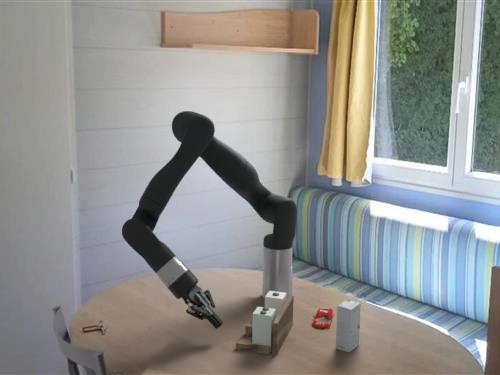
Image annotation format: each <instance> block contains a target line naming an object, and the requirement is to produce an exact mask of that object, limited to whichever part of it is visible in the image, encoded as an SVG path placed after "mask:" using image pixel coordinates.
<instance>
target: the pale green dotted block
mask: <svg viewBox="0 0 500 375" xmlns="http://www.w3.org/2000/svg"><path fill="white" fill-rule="evenodd" d="M275 319H276V309H272V308H268V307H265V306H257V307H256V308H255V310H254V311H253V313H252V324H253V326H252V336H251V337H252V338H251V340H252V341H251V342H252V343H251V344H256V345H262V346H269V347H270V353H271V352H272V344H273V322H274V321H275Z"/></svg>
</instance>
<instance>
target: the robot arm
mask: <svg viewBox="0 0 500 375" xmlns="http://www.w3.org/2000/svg"><path fill="white" fill-rule="evenodd" d="M171 130H172V134H173V136H174V138H175V139H176V140H177V141H178V142H179V143H180V144H179V147H178V149H177V150H176V152H175V154H174V155H173V156H172V157H171V159H170V160H169V161H168V162H167V163H166V164H165V165H164V166H163V167H162V168H160V169H159V171H158V172H156V174H154V175H153V177H152V178H151V179H150V181H149V182H148V184H147V186H146V187H145V190H144V191H143V193H142V195H141V197H140V199H139V201H138V207H137V208H136V210H135V212H134V214H133V215H132V216H131V218H128V219H127V220H126V221H125V222H124V223H123V225H122V228H121V234H122V238H123V240H124V241H125V242H126V243H127V244H128V246H130V247H131V249H133V251H135V253H137V254H138V255H139V256H141V257H142V259H143V260H144V261H145V262H146V263H147V265H148V266H149V267H150V268H151V269H152V270H153V272H154V273H155V274H156V276H157V277H158V279H160V281H161V282H162V284H163V285H164V286H165V287H166V288H167V289H168V290H169V291H170V293H171V294H172V295H173V296H174V297H175V298H176V299H177V300H180V299H182V300H183V301H184V304H185V305H186V306H187V309H185V312H186V314H188V315H190V316H192V317H195V318H196V319H199V320H201V321H203V320H208V322H209V323H210V324H211V325H212V327H213V328H215V329H216V330H218V329H219V328H220V327H221V326H222V325H223V324H224V322H223V320H222V319H221V318H220V317H219V316H218V315H217V313H216V311H215V310H216V309H215V308H216V304H215V302H214V299H213V296H212V293H211V292H210V290H209V289H206V290H203V289H202V287H200V286H198V283H199V279H198V278H197V277H196V275H195V274H194V273H193V272H192V271H191V270H190V268H188V266H187V265H186V264H185V263H184V262H183V261H182V260H181V259H180V258H178V256H177V255H176V254H175V253H174V252H173V251H172V250H171V248H169V247H168V245H167V244H165V243H164V242H163V241H161V240H160V239H159V238H158V236H157V235H156V234H155V233H154V230H155V228H156V226H157V224H158V221H159V219H160V217H161V214H162V213H163V212H164V210H165V209H166V207H167V205H168V204H169V201H170V199H171V198H172V197H173V195H174V193H175V191H176V190H177V187H178V186H179V185H180V183H181V181H182V180H183V178H184V177H185V176H186V175H187V174H188V172H189V171H190V169H191V168H192V167H193V165H194V164H195V163H196V161H197V160H198V158H201V160H203V162H204V163H206V165H207V166H208V167H209V168H210V169H211V170H212V171H213V172H214V173H215V174H216V175H217V176H218V177H219V179H220V180H222V182H224V183H225V184H226V185H227V186H228V187H229V188H230V189H231V190H233V191H234V192H235V193H236V194H238V195H239V196H240V197H241V198H242V199H244V200H245V201H246V203H248V204H249V205H250V206H251V207H252V209H253V210H254V211H255V213H256V214H257V215H258V216H259V217H260V218H261V220H263V221H264V222H265V223H268V224H271V225H273V228H272V233H269V234H266V235H264V236H263V237H264V238H263V240H262V241H263V248H262V250H263V252H262V285H261V286H262V289H261V290H262V292H261V293H262V294H261V295H262V296H261V297H262V299H263V300H265V296H266V295H267V293H268V292H269V291H276V292H284V293H287V296H286V301H287V299H288V298H289V296H293V285H294V284H293V283H294V282H293V279H294V267H293V246H294V245H293V242H294V240H295V237H296V231H297V219H298V207H297V203H296V201H294V199H292V198H290V197H286V196H284V195H283V196H282V195H279V194H276V193H274V192H272V191H271V190H269V189H268V188H267V187H266V186H264V185H263V183H262V182H261V180H260V177H259V174H258V171H257V169H256V168H255V167H254V166H253V164H251V162H250V161H248V159H247V158H246V157H244V155H242V154H241V153H240V152H238V151H237V150H236V149H235V148H233V147H231V146H230V145H227V143H226V142H223V141H222V140H221V139H219V138H218V137H216V136H215V132H216V128H215V124H214V122H213V120H212V119H211V118H210V117H209V116H206V115H204V114H201V113H198V112H195V111H191V110H184V111H180V112H178V113H177V114H176V115H175V116H174V117H173V118H172V121H171Z"/></svg>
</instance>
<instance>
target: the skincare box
mask: <svg viewBox="0 0 500 375" xmlns="http://www.w3.org/2000/svg"><path fill="white" fill-rule="evenodd" d="M361 304H362V303H361V302H359V301H354V300H350V299H347V300H344V301H342V302H341V303H340V304H339V305H337V307H336V310H337V311H336V328H335V329H336V330H335V332H336V334H335V335H336V336H335V348H336V349H337V350H340V351H343V352H347V353H351V352H352V351H354V349H356V348H358V347H359V344H360V328H361Z"/></svg>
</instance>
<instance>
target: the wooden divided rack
mask: <svg viewBox="0 0 500 375" xmlns="http://www.w3.org/2000/svg"><path fill="white" fill-rule="evenodd" d="M294 297H295V296H293V295H291V296H289V298H288V299H287V301H286V303H285V304H284V306H283V308H282V309H281V311H280V312H279V314H278V316H277V317H276V319H275V321H274V322H273V344H272V351H271V352H272V356H278V354H279V352H280V350H281V348H282V347H283V344H284V343H285V341H286V339H287V337H288V336H289V333H290V331H291V330H292V328H293V326H294V323H293V322H294V303H295V302H294V300H295V298H294ZM252 326H253V323H246V325H245V329H244V330H245V331H244V332H245V333H244V334H245V336H247V337H252ZM235 349H236V350H238V351H244V352H253V353H259V354H265V355H270V354H271V352H270V347H269V346H262V345H256V344H252V343H248V342H242V341H236V343H235Z"/></svg>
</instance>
